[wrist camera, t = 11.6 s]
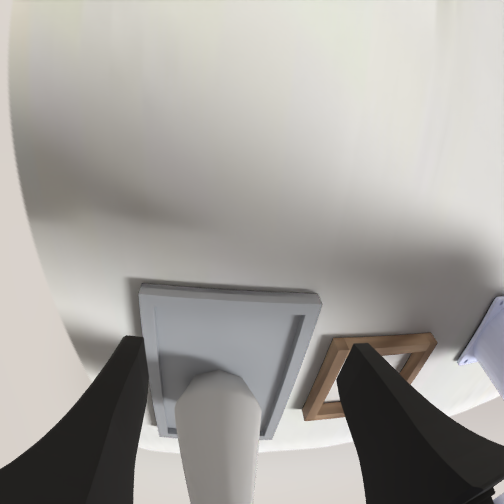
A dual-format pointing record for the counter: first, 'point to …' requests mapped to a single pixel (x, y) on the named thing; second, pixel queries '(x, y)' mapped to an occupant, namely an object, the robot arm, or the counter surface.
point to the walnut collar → (339, 351)
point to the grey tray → (225, 344)
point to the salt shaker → (218, 438)
